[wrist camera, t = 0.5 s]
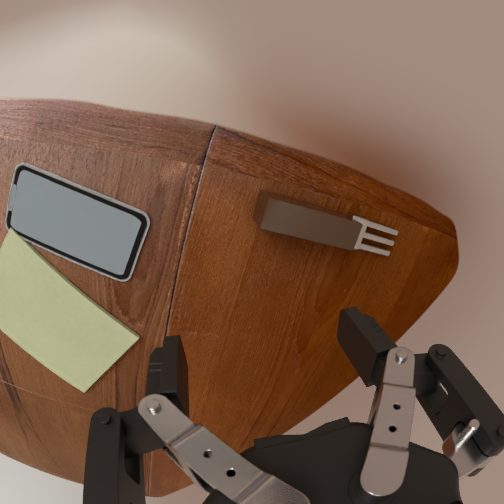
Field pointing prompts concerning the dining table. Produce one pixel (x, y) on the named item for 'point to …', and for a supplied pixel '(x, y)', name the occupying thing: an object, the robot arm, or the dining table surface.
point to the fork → (318, 223)
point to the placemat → (56, 317)
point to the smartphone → (75, 222)
